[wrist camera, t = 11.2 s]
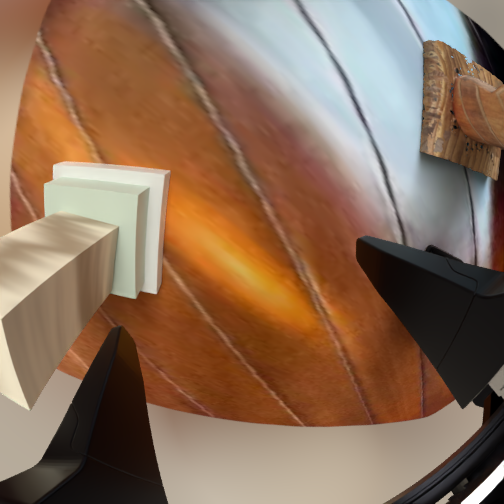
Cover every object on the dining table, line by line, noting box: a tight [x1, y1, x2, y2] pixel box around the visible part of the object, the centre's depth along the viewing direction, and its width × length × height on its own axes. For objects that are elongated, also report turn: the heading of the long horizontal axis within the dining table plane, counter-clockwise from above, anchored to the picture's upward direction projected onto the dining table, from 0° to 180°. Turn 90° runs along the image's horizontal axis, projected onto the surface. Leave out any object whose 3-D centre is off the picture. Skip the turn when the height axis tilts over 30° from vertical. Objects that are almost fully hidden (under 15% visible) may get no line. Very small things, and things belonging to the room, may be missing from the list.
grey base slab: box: [53, 161, 171, 294], centre depth 21 cm, size 10×10×2 cm
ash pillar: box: [0, 211, 119, 411], centre depth 12 cm, size 5×5×12 cm
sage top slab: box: [44, 177, 150, 299], centre depth 18 cm, size 8×8×2 cm
